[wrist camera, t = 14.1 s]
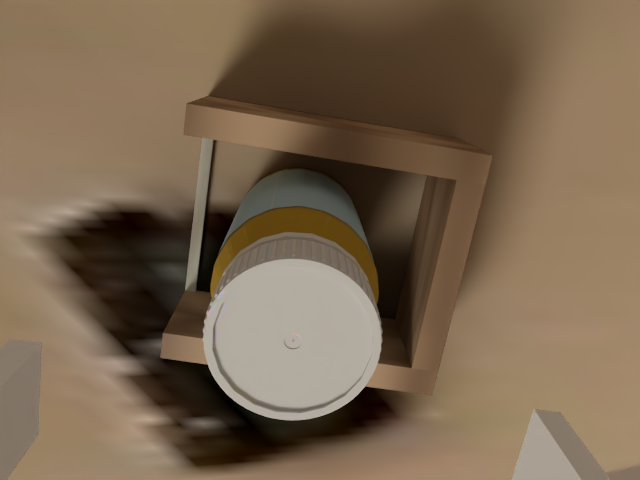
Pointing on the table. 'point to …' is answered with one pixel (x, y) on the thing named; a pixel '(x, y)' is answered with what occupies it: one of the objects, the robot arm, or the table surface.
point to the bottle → (294, 300)
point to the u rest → (428, 241)
